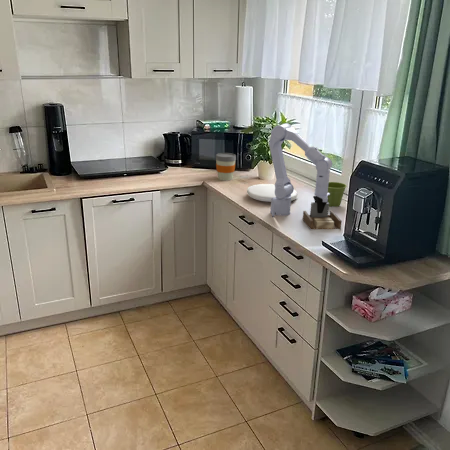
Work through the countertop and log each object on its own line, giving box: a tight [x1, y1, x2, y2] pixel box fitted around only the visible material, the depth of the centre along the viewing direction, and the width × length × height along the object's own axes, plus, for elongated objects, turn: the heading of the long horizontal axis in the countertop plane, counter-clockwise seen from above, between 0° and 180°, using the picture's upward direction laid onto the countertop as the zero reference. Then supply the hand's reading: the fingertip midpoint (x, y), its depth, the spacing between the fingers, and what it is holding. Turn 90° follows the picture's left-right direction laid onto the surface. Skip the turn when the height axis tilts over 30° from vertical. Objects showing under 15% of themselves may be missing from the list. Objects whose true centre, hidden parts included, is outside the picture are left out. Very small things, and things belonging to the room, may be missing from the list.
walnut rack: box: [302, 210, 342, 230], centre depth 216 cm, size 14×14×5 cm
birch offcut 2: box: [315, 221, 334, 230], centre depth 212 cm, size 8×2×3 cm, turn 95°
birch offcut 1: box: [313, 218, 332, 226], centre depth 214 cm, size 8×2×3 cm, turn 95°
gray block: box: [309, 201, 330, 217], centre depth 219 cm, size 8×2×8 cm, turn 95°
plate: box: [246, 183, 298, 203], centre depth 255 cm, size 28×6×27 cm
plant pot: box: [327, 181, 348, 208], centre depth 244 cm, size 12×12×11 cm
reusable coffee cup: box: [215, 152, 237, 181], centre depth 289 cm, size 13×13×15 cm
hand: (319, 212), depth 220 cm, fingers closed on gray block, 2 cm apart
